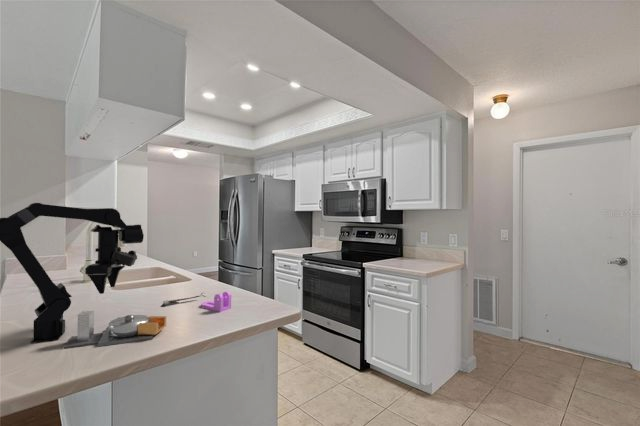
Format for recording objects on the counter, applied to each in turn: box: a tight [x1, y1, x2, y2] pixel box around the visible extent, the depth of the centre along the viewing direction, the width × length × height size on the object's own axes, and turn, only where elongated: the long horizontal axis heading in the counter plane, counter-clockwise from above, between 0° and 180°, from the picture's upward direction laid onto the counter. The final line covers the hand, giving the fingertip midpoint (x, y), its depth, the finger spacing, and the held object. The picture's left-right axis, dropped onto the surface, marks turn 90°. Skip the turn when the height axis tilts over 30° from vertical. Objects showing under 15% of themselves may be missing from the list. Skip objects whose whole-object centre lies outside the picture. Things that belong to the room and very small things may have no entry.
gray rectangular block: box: [76, 310, 95, 342], centre depth 93 cm, size 3×3×8 cm
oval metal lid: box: [108, 314, 167, 337], centre depth 99 cm, size 16×11×4 cm
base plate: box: [97, 326, 154, 347], centre depth 99 cm, size 14×14×1 cm
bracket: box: [200, 290, 232, 313], centre depth 128 cm, size 13×6×7 cm, turn 60°
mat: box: [62, 332, 104, 350], centre depth 93 cm, size 8×8×1 cm
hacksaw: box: [160, 292, 210, 308], centre depth 139 cm, size 24×10×2 cm, turn 135°
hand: (107, 290), depth 106 cm, fingers open, 9 cm apart
